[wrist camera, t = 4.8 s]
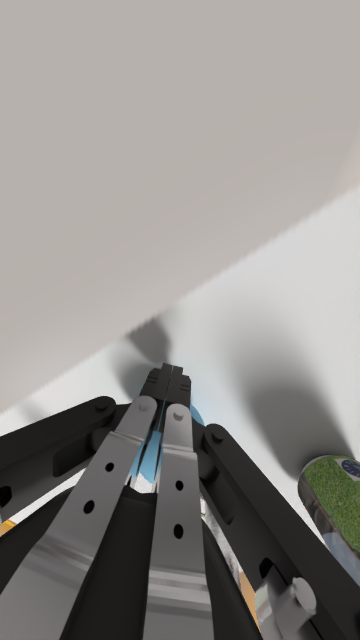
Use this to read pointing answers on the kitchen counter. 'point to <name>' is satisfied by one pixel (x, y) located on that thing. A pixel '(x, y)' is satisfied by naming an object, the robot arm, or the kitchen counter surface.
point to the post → (222, 544)
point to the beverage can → (335, 506)
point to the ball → (151, 454)
